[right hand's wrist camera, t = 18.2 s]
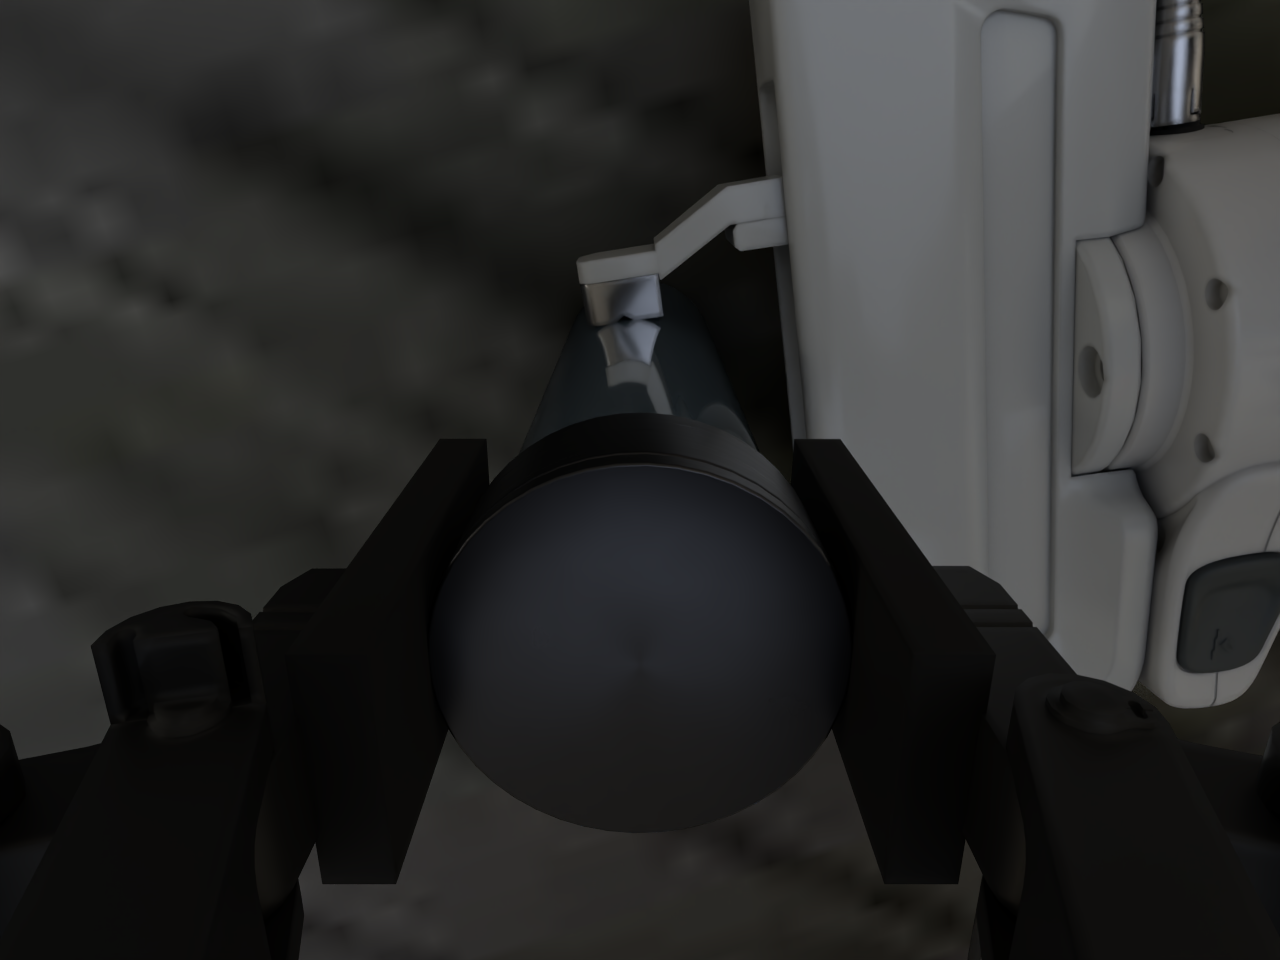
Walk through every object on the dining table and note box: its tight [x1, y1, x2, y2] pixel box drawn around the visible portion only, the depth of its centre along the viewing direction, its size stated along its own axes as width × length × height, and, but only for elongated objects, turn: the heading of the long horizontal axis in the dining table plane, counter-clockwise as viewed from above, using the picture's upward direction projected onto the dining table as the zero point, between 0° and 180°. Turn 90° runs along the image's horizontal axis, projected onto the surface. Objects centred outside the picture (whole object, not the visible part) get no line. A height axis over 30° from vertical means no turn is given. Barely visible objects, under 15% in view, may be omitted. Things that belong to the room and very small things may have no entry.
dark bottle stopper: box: [427, 412, 853, 833], centre depth 11 cm, size 5×5×2 cm
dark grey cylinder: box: [519, 282, 760, 454], centre depth 19 cm, size 4×4×17 cm
